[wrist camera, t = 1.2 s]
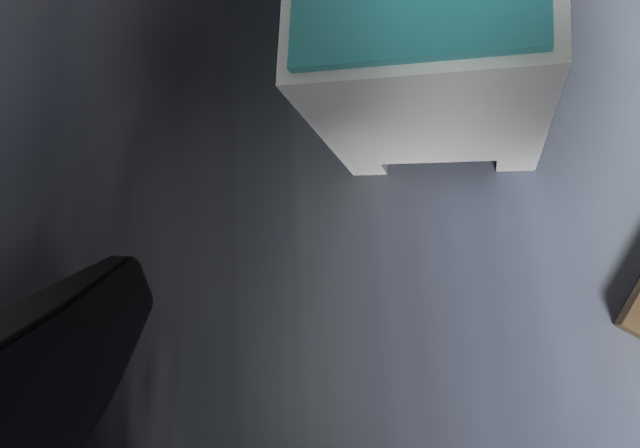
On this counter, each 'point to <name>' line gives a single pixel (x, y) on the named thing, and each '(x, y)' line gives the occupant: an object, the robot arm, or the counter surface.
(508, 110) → the panel
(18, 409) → the robot arm
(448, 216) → the counter surface
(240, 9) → the counter surface
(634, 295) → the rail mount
